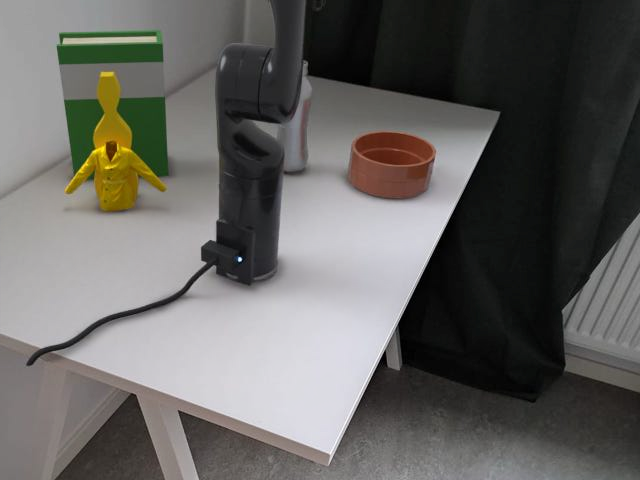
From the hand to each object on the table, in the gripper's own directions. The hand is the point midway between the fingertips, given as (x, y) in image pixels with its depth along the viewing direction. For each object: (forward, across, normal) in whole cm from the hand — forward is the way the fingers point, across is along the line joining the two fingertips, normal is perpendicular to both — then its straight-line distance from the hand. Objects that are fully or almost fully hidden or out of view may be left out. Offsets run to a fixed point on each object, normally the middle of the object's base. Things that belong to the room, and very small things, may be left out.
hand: (294, 5), depth 121 cm
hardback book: (+29, -26, -18) cm, 43 cm away
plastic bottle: (+29, +1, 0) cm, 29 cm away
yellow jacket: (+30, -18, -29) cm, 45 cm away
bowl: (+29, +19, +6) cm, 35 cm away
